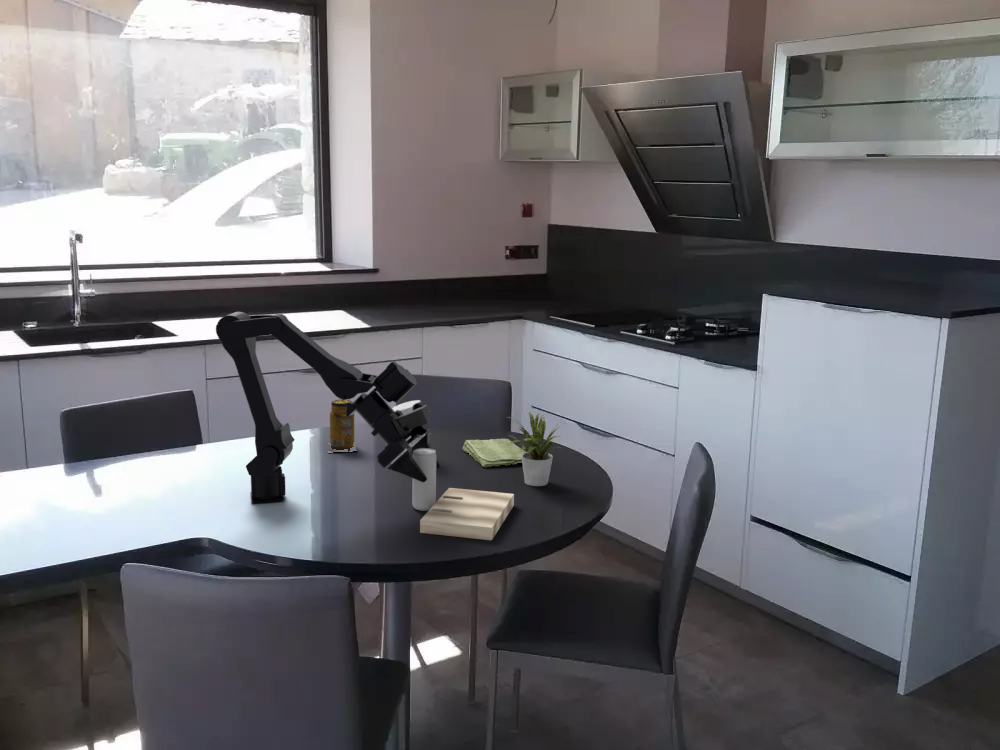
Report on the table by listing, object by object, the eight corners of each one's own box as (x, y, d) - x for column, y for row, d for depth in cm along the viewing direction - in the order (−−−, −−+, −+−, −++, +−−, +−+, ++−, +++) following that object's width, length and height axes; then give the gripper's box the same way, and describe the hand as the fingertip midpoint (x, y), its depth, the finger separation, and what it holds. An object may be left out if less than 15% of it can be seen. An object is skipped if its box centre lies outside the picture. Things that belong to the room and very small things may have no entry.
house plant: (492, 474, 207) (493, 405, 203) (547, 469, 211) (549, 402, 208) (514, 493, 194) (516, 420, 190) (573, 487, 198) (575, 416, 195)
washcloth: (482, 471, 211) (482, 457, 210) (460, 450, 227) (460, 438, 226) (534, 466, 215) (534, 453, 214) (508, 447, 231) (508, 434, 231)
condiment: (355, 443, 230) (355, 397, 227) (357, 452, 222) (357, 405, 219) (326, 444, 228) (325, 398, 226) (327, 453, 220) (327, 406, 218)
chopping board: (491, 540, 167) (491, 526, 167) (420, 532, 170) (420, 519, 170) (513, 505, 186) (514, 493, 186) (449, 499, 189) (449, 486, 189)
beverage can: (423, 501, 187) (424, 446, 185) (440, 507, 184) (441, 451, 182) (407, 507, 183) (407, 451, 181) (424, 513, 181) (424, 456, 178)
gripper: (392, 402, 171) (447, 462, 171) (421, 383, 189) (471, 437, 189) (353, 438, 175) (407, 497, 174) (386, 416, 192) (435, 470, 192)
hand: (432, 474), depth 182 cm, fingers open, 9 cm apart
